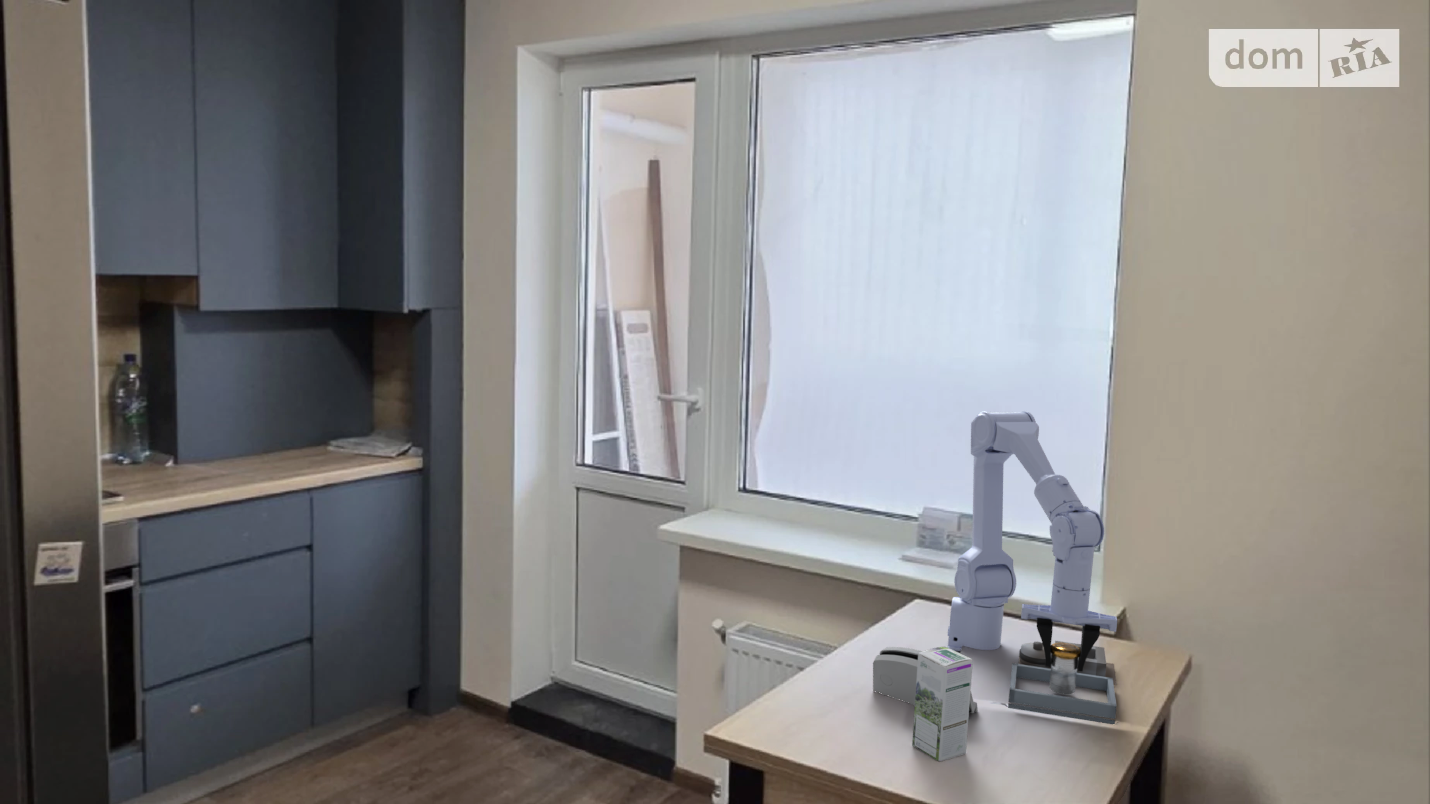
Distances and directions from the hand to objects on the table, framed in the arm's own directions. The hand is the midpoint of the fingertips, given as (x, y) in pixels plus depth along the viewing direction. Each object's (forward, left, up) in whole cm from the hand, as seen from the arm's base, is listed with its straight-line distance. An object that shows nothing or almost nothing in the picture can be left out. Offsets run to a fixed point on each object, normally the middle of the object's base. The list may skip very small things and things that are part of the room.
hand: (1063, 666), depth 175 cm
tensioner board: (+1, +13, -6) cm, 15 cm away
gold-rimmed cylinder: (0, 0, -4) cm, 4 cm away
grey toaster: (-21, -10, -6) cm, 24 cm away
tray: (0, 0, -6) cm, 6 cm away
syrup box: (-17, -26, -6) cm, 31 cm away
